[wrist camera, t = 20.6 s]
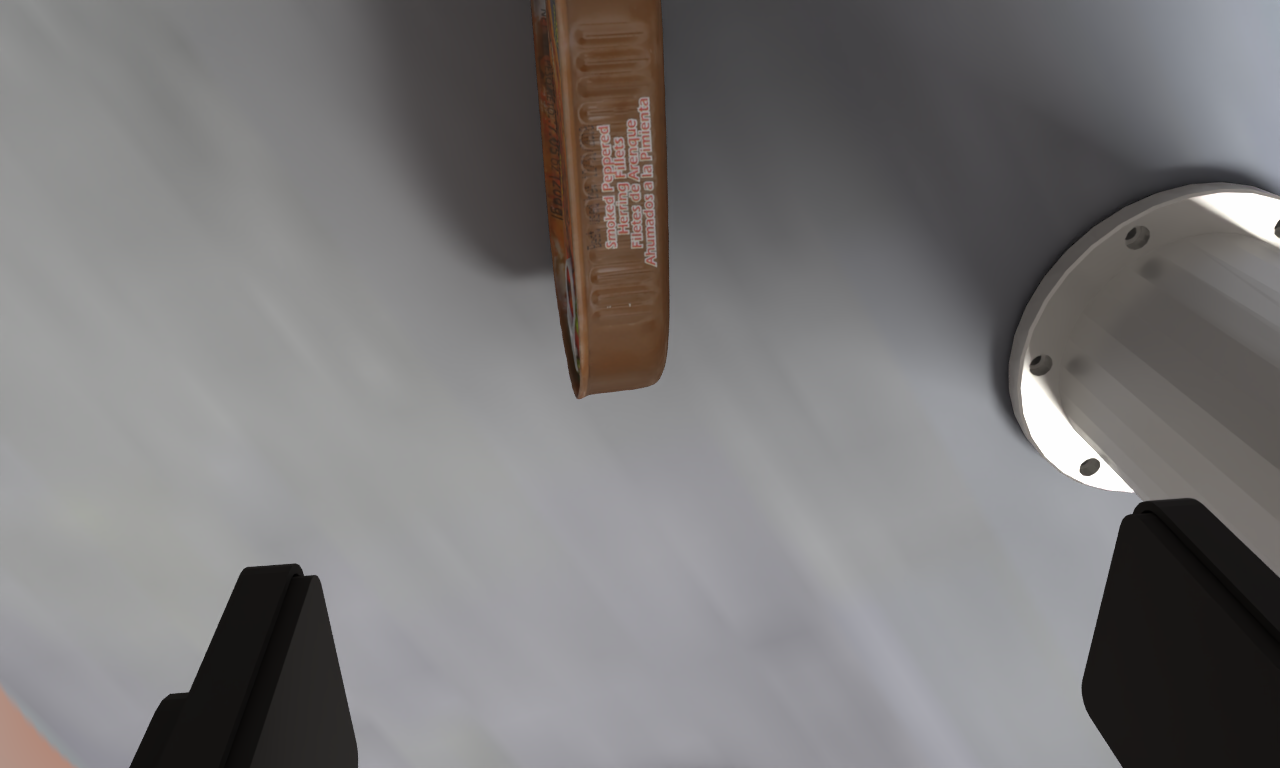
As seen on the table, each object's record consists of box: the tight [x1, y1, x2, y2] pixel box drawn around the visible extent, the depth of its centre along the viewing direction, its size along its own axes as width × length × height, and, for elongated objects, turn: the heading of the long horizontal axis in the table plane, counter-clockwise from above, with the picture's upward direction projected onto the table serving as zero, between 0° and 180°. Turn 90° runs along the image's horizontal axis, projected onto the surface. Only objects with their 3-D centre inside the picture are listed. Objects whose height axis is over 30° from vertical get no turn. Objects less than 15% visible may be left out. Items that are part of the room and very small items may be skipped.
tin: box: [531, 0, 669, 399], centre depth 28 cm, size 15×3×8 cm, turn 2°
